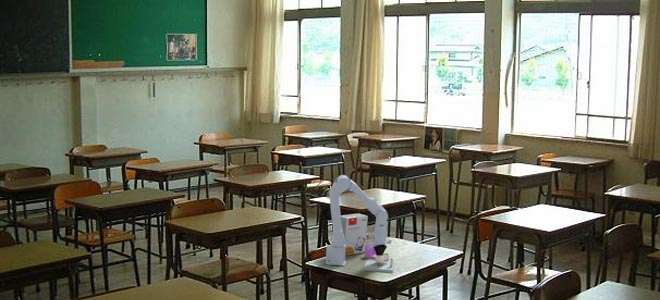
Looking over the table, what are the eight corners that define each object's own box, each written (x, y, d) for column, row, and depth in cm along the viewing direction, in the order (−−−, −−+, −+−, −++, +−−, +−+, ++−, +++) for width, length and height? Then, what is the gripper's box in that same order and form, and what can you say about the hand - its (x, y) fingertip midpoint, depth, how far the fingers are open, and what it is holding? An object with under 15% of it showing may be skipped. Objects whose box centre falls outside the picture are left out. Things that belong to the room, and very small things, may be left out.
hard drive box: (343, 256, 419) (345, 218, 416) (334, 253, 425) (335, 215, 422) (366, 252, 428) (368, 215, 426) (356, 249, 434) (358, 212, 432)
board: (363, 270, 394) (364, 259, 393) (366, 262, 408) (366, 252, 407) (392, 272, 392) (393, 261, 391) (394, 265, 406) (394, 254, 405)
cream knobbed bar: (381, 263, 397) (381, 257, 396) (373, 262, 399) (374, 256, 398) (390, 259, 405) (391, 253, 405) (383, 258, 407) (384, 252, 407)
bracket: (364, 256, 420) (365, 243, 419) (371, 255, 424) (372, 242, 423) (384, 261, 411) (384, 248, 411) (390, 260, 416) (391, 246, 415)
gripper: (376, 236, 396) (374, 263, 398) (396, 232, 406) (395, 258, 407) (365, 233, 401) (364, 260, 403) (386, 229, 411) (384, 255, 412)
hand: (379, 259), depth 405 cm, fingers closed
